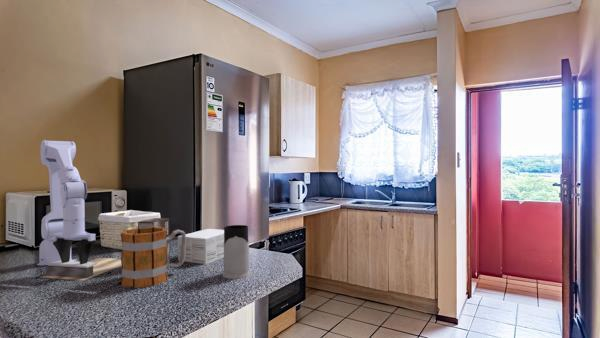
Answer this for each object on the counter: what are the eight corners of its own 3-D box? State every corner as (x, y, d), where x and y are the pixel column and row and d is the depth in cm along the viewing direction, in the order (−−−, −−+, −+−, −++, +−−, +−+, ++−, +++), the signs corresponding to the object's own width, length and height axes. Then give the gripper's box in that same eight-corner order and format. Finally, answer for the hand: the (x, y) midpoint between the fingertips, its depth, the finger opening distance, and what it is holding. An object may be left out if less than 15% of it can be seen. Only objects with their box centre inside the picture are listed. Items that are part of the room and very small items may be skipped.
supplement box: (207, 251, 144) (207, 228, 144) (234, 253, 139) (233, 230, 139) (177, 261, 129) (176, 235, 129) (205, 264, 123) (205, 238, 123)
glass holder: (221, 279, 106) (220, 229, 106) (224, 266, 120) (223, 222, 120) (250, 277, 107) (250, 228, 107) (250, 265, 121) (249, 221, 121)
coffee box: (154, 262, 127) (153, 217, 127) (170, 262, 125) (169, 218, 125) (137, 269, 118) (137, 221, 118) (154, 270, 116) (154, 221, 116)
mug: (128, 291, 96) (127, 236, 96) (114, 280, 106) (113, 230, 106) (195, 276, 109) (195, 228, 109) (177, 267, 119) (177, 223, 119)
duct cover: (48, 266, 110) (48, 263, 110) (60, 262, 114) (60, 260, 114) (85, 268, 107) (85, 265, 107) (96, 264, 111) (96, 262, 111)
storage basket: (96, 246, 154) (96, 213, 154) (131, 240, 168) (131, 209, 168) (126, 253, 141) (126, 216, 141) (162, 245, 155) (162, 212, 155)
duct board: (39, 279, 108) (39, 267, 108) (100, 259, 131) (100, 250, 131) (82, 282, 104) (82, 270, 104) (137, 261, 128) (137, 251, 128)
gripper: (103, 218, 113) (103, 260, 113) (67, 217, 117) (67, 258, 117) (84, 221, 106) (85, 266, 106) (46, 220, 110) (47, 264, 110)
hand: (74, 262), depth 111 cm, fingers open, 7 cm apart
